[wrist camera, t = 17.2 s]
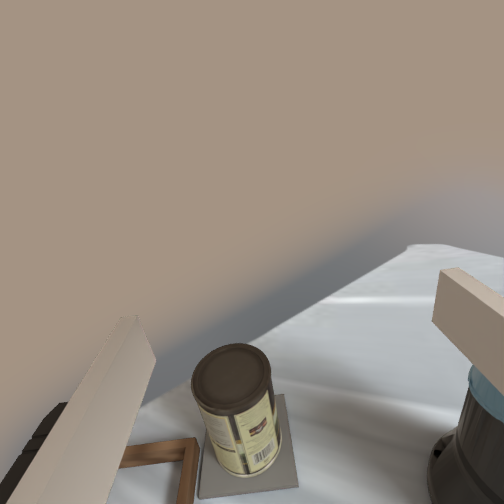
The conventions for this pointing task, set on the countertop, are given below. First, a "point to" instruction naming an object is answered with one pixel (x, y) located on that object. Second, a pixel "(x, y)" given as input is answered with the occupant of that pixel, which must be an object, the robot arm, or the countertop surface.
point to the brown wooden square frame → (168, 453)
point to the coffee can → (238, 408)
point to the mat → (273, 478)
